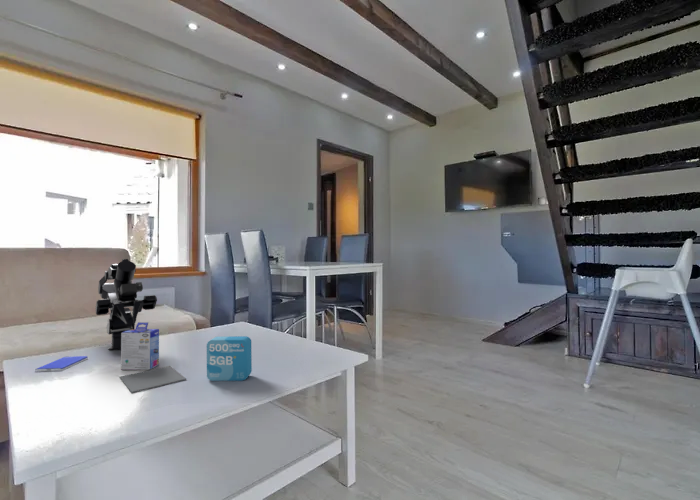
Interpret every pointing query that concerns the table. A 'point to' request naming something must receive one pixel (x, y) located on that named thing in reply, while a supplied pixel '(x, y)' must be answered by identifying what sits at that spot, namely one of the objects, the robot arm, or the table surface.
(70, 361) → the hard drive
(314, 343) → the table surface
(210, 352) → the data package
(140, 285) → the robot arm
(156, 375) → the mat
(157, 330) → the ink cartridge box
